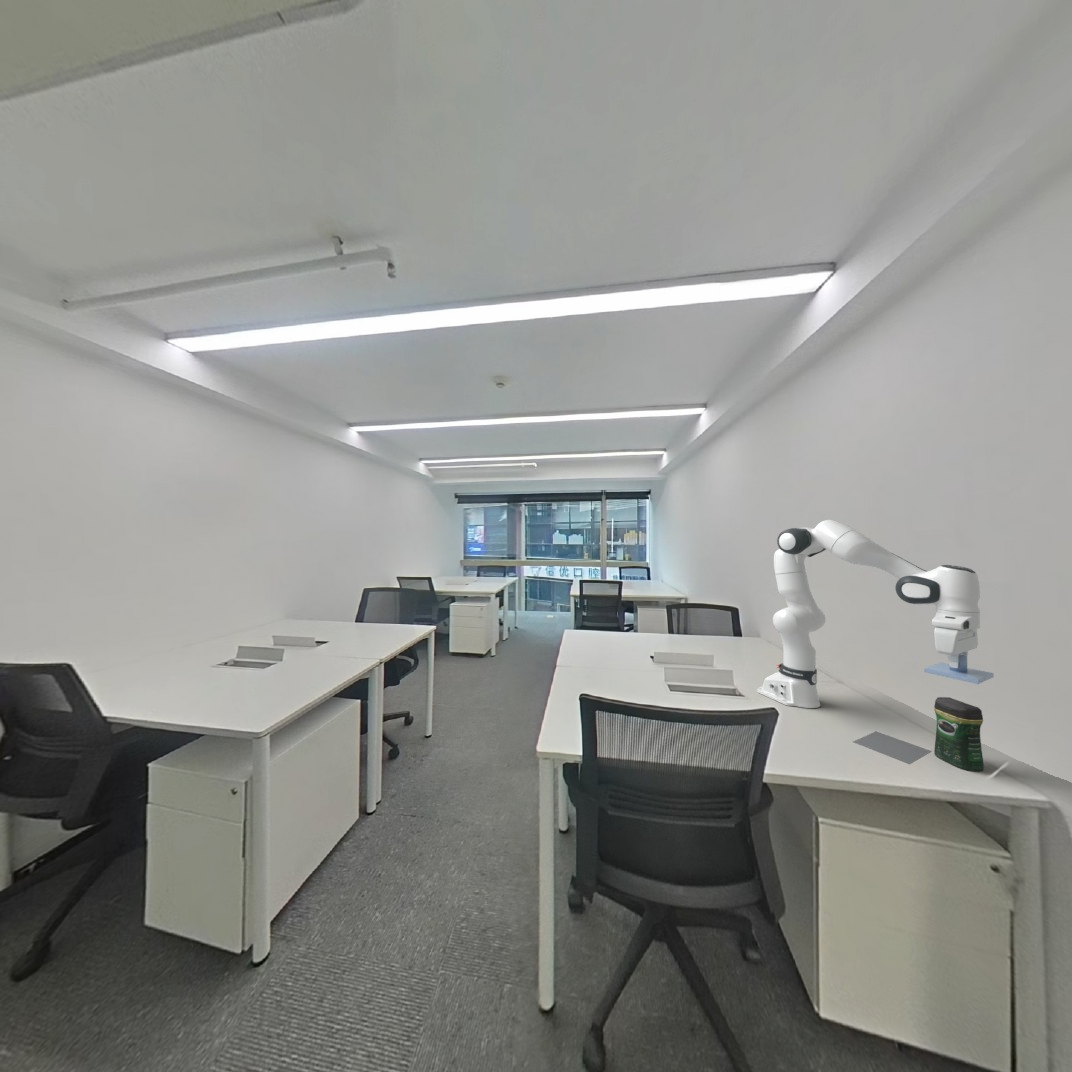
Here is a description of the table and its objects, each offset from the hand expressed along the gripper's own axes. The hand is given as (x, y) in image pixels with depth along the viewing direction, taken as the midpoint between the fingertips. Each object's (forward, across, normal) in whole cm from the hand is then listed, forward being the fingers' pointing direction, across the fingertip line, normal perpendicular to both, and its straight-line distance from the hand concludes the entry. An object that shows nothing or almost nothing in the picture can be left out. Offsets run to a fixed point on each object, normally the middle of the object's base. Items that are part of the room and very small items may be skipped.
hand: (957, 666), depth 115 cm
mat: (+29, +7, -13) cm, 32 cm away
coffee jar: (+29, 0, 0) cm, 29 cm away
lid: (+2, 0, 0) cm, 3 cm away
